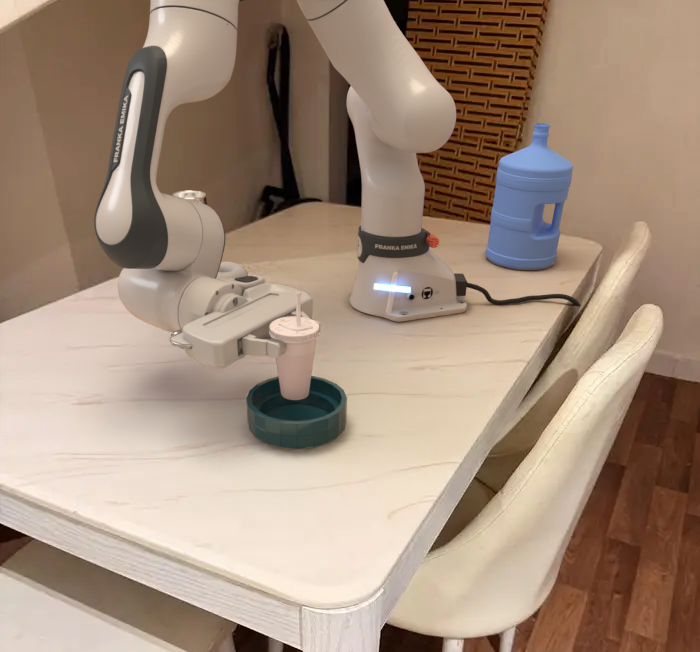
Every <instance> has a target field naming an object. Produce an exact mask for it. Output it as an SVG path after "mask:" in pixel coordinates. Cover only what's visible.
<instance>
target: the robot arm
mask: <svg viewBox="0 0 700 652" xmlns="http://www.w3.org/2000/svg"><path fill="white" fill-rule="evenodd" d="M243 1H245V0H150V7H149V20H148V21H149V22H148V29H147V34H146V38H145V41H144V44H143V46H142V47H141V48H139V49H137V50H136V51H135V52H134V53H133V54H132V56H131V57H130V59H129V61H128V63H127V66H126V69H125V72H124V75H123V80H122V83H121V84H122V85H121V89H120V94H119V100H118V106H117V111H116V118H115V124H114V130H113V136H112V142H111V148H110V154H109V159H108V165H107V171H106V176H105V181H104V184H103V187H102V190H101V193H100V195H99V198H98V202H97V205H96V208H95V211H94V217H93V225H94V233H95V236H96V239H97V241H98V243H99V245H100V247H101V249H102V251H103V252H104V254H105V255H106V256H107V258H108V259H109V260H110V261H111V262H112V263H113V264H115V265H116V266H118V267H120V268H122V269H121V272H120V273H119V275H118V279H117V294H118V297H119V300H120V302H121V303H122V305H123V306H124V308H125V309H126V311H128V312H129V313H130V314H131V315H132V316H133V317H134V318H136V319H138V320H140V321H142V322H144V323H146V324H148V325H150V326H152V327H155V328H157V329H160V330H163V331H166V332H168V333H170V337H169V343H170V345H172V346H173V347H176V348H178V349H181V350H184V352H185V354H186V355H187V356H189V358H190V357H191V358H192V359H194V360H196V361H198V362H200V363H201V364H204V365H206V366H209V367H211V368H217V369H219V368H220V369H221V368H227V367H228V366H230V365H231V364H234V363H235V362H237V361H239V360H240V359H243V358H244V357H246V356H251V357H255V356H256V357H257V356H258V357H259V356H260V357H261V356H262V357H263V356H268V357H271V358H274V359H276V358H278V357H279V356H281V355H283V354H284V353H285V343H284V342H283V341H281V340H278V339H275V338H273V339H272V337H271V336H270V334H269V331H270V328H269V326H270V324H271V322H273V321H274V320H276V319H279V318H282V317H290V316H296V293H297V292H300V293H301V317H305V318H309V319H312V320H314V321H316V322H317V323H318V324H319V332H320V333H321V323H320V321H318V320H316V319H313V312H314V311H313V308H314V307H313V304H314V303H313V298H312V297H311V295H310V294H309V292H306V291H303V290H301V289H297V288H295V287H292V286H288V285H284V284H281V283H278V282H265V278H264V277H263V276H261V275H257V274H251V275H250V274H249V275H248V276H245V277H238V278H218V279H216V277H217V274H218V271H219V268H220V264H221V262H222V260H223V256H224V253H225V247H226V230H225V226H224V223H223V221H222V219H221V217H220V215H219V213H218V212H217V211H216V210H215V209H214V208H213V207H212V206H210V205H209V204H208V203H207V204H203V203H199V202H196V201H193V200H189V199H185V198H180V197H175V196H173V194H172V195H171V194H168V193H164V192H161V191H160V189H159V188H158V183H157V177H158V176H157V175H158V170H159V164H160V159H161V152H162V147H163V141H164V135H165V130H166V124H167V120H168V118H169V116H170V114H171V113H172V111H173V110H174V109H175V108H177V107H179V106H180V105H183V104H190V103H196V102H197V103H198V102H203V101H206V100H209V99H210V98H213V97H214V96H216V95H218V94H219V93H220V92H222V90H223V89H224V88H226V86H227V85H228V84H229V83H230V81H231V79H232V76H233V73H234V68H235V64H236V59H237V49H238V48H237V45H238V28H239V27H238V25H239V5H240V4H239V3H240V2H243ZM295 1H296V3H297V4H298V6H299V9H300V11H301V12H302V14H303V16H304V18H305V19H306V21H307V23H308V25H309V27H310V29H311V30H312V32H313V33H314V35H315V37H316V39H317V40H318V42H319V44H320V46H321V47H322V49H323V50H324V52H325V54H326V56H327V58H328V59H329V61H330V63H331V65H332V66H333V68H334V69H335V71H337V72H338V73H339V74H340V75H341V76H342V77H343V78H344V79H345V81H346V82H347V83H348V85H350V86H349V88H348V91H347V95H346V109H347V110H346V111H347V115H348V117H349V119H350V121H351V124H352V126H353V131H354V136H355V144H356V149H357V155H358V161H359V162H358V163H359V169H360V177H361V205H360V207H361V208H360V209H361V211H360V225H359V226H358V230H357V231H358V232H357V236H356V256H357V259H358V260H357V267H356V274H355V279H354V282H353V283H354V284H353V288H352V291H351V295H350V297H349V300H348V301H349V304H350V306H351V307H353V308H354V309H355V310H357V311H359V312H362V313H364V314H368V315H371V316H376V317H381V318H384V319H387V320H390V321H393V322H398V323H401V322H409V321H415V320H421V319H428V318H435V317H441V316H449V315H455V314H461V313H465V312H466V311H467V309H468V301H467V299H466V294H467V288H468V289H472V290H475V291H478V292H480V293H482V294H483V296H484V297H485V299H486V300H487V302H489V303H490V304H492V305H496V306H504V305H505V306H506V305H512V304H519V303H523V302H528V301H529V302H530V301H543V300H552V299H553V300H555V299H556V300H557V299H559V300H565V301H568V302H570V303H572V305H574V307H581V306H582V305H581V304H580V302H579V301H578V300H577V299H576V298H574V297H573V296H571V295H568V294H565V293H549V294H537V295H535V294H534V295H525V296H521V297H517V298H507V299H494V298H493V297H492V296H491V294H490V293H489V292H488V289H485V288H484V287H482V286H480V285H478V284H474V283H471V282H468V281H467V279H466V277H465V274H464V273H457V272H456V273H454V271H453V269H452V268H451V267H450V266H449V265H448V264H447V263H446V262H444V261H443V260H442V259H441V257H439V256H438V255H437V254H436V253H434V251H432V250H431V249H436V248H438V246H439V245H440V239H439V237H437V236H436V235H435V234H433V233H431V232H429V231H428V230H426V229H425V228H423V217H424V207H425V206H424V205H425V194H426V186H425V180H424V177H423V175H422V173H421V170H420V168H419V163H418V158H417V154H426V153H427V154H428V153H433V152H435V151H437V150H439V149H440V148H442V147H444V145H446V143H447V142H448V141H449V140H450V138H451V136H452V134H453V132H454V129H455V126H456V123H457V107H456V104H455V101H454V99H453V96H452V95H451V94H450V93H449V91H447V89H445V87H444V86H442V85H441V83H440V82H438V80H437V79H436V78H435V77H434V75H433V74H432V73H431V71H430V70H429V68H428V67H427V65H426V64H425V63H424V61H423V59H422V58H421V57H420V55H419V54H418V52H417V51H416V50H415V49H414V47H413V46H412V44H411V43H410V42H409V41H408V39H407V38H406V37H405V35H404V34H403V32H402V31H401V30H400V28H399V26H398V25H397V22H396V21H395V20H394V18H393V16H392V14H391V12H390V10H389V8H388V6H387V4H386V2H385V0H295ZM430 248H431V249H430Z"/></svg>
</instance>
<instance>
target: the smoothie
mask: <svg viewBox="0 0 700 652" xmlns="http://www.w3.org/2000/svg"><path fill="white" fill-rule="evenodd" d="M314 320H315V319H313V318H312V319H309V318H305V317H301V293H300V292H297V293H296V316H290V317H282V318H279V319H276V320H274V321H273V322H271V324H270V326H269V328H270V331H269V334H270V336H271V337H272V339H273V338H275V339H278V340H281V341H283V342H284V343H285V353H284V354H283V355H281V356H279V357H278V358H275V363H276V364H275V365H276V370H277V377H279V383H280V389H281V395H282V396H283V397H284V398H286V399H289V400H301V399H304V398H306V397H307V396H308V395H309V389H310V381H311V376H312V374H313V366H314V360H315V359H314V358H315V352H316V346H317V338H318V337H319V336H320V334H321V331H320V332H319V324H318V323H317V322H316V321H317V320H316V321H314Z"/></svg>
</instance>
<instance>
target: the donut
mask: <svg viewBox="0 0 700 652" xmlns="http://www.w3.org/2000/svg"><path fill="white" fill-rule="evenodd" d="M245 276H249V272H248V270H247V269H246V268H245V266H243V265H242V264H240V263H238V262H233V261H221V264H220V268H219V271H218V274H217V277H216V279H218V278H238V277H245Z"/></svg>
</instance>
